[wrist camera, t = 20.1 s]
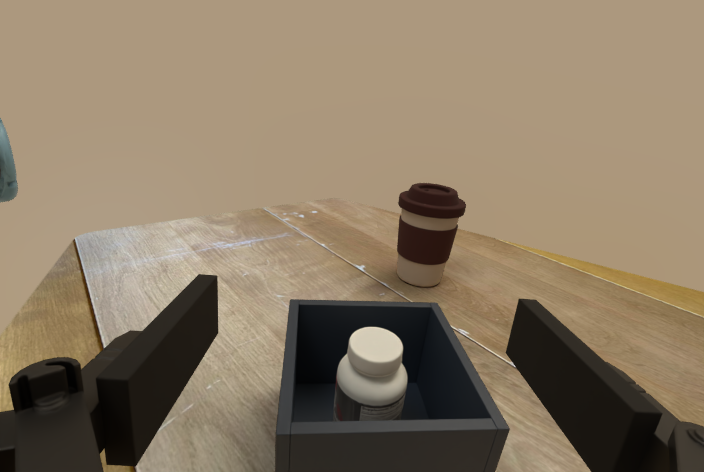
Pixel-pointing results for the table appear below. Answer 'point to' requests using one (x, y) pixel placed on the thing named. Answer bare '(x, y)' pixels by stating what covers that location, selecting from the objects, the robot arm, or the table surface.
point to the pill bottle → (371, 378)
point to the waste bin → (419, 404)
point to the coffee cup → (426, 232)
